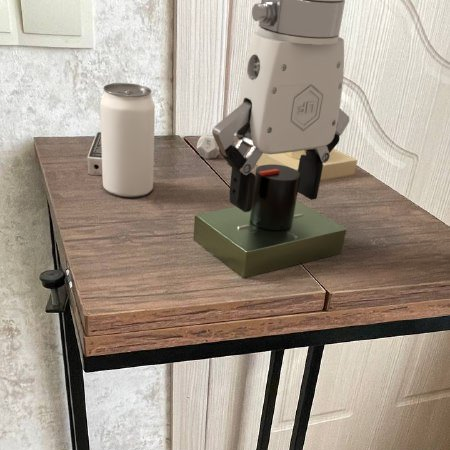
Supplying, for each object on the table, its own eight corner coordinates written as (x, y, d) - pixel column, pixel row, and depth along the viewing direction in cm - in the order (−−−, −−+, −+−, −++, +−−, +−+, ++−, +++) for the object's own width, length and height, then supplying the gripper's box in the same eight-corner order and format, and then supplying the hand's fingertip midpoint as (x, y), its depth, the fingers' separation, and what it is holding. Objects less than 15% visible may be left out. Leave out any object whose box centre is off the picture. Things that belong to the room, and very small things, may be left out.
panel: (287, 219, 79) (291, 195, 77) (341, 253, 72) (347, 227, 70) (193, 239, 72) (194, 212, 70) (243, 278, 66) (246, 250, 64)
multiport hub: (127, 150, 93) (127, 134, 91) (120, 177, 84) (120, 159, 83) (97, 147, 93) (96, 131, 91) (87, 174, 84) (86, 157, 83)
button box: (311, 153, 100) (315, 126, 97) (354, 174, 94) (360, 147, 91) (250, 161, 94) (253, 134, 91) (292, 185, 88) (296, 156, 85)
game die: (222, 160, 93) (224, 140, 91) (198, 160, 92) (199, 139, 90) (217, 152, 96) (219, 132, 94) (193, 152, 95) (195, 131, 93)
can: (162, 187, 83) (165, 89, 75) (135, 202, 78) (135, 100, 71) (121, 175, 85) (120, 79, 77) (92, 189, 80) (88, 88, 73)
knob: (274, 209, 73) (282, 159, 69) (301, 226, 70) (310, 174, 66) (241, 216, 71) (247, 164, 67) (267, 233, 68) (274, 180, 64)
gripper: (248, 28, 51) (227, 227, 62) (395, 26, 60) (354, 202, 71) (199, 10, 56) (188, 199, 67) (342, 11, 64) (311, 179, 75)
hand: (273, 200), depth 69 cm, fingers open, 8 cm apart
